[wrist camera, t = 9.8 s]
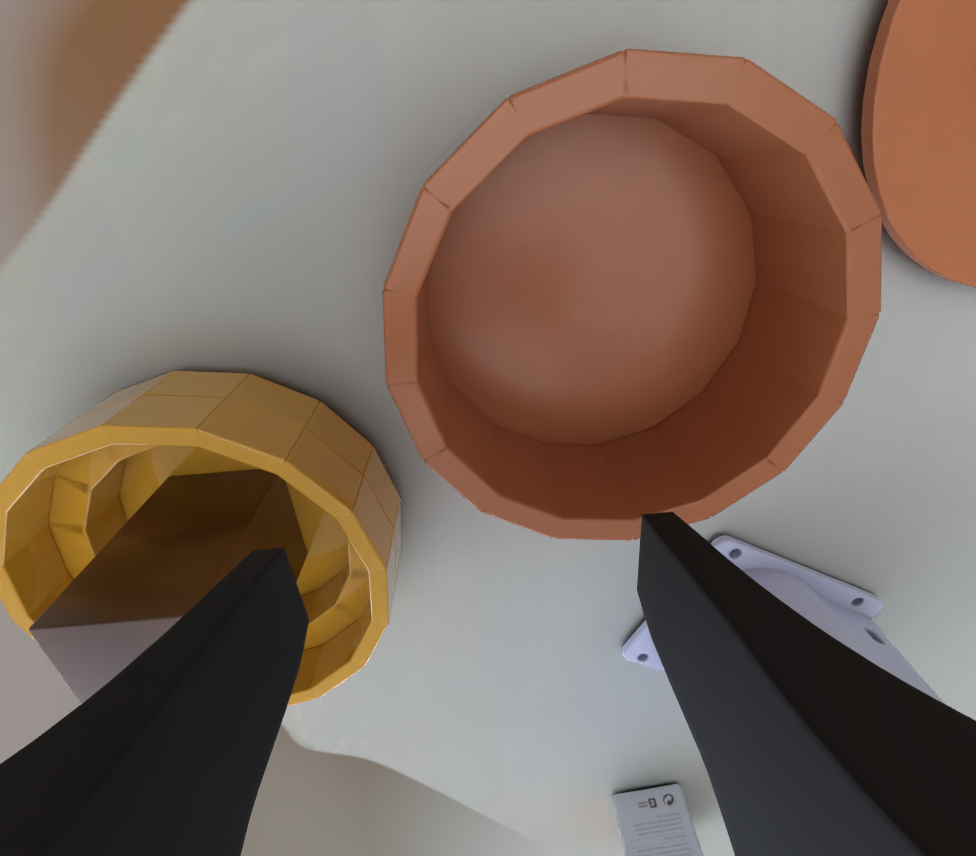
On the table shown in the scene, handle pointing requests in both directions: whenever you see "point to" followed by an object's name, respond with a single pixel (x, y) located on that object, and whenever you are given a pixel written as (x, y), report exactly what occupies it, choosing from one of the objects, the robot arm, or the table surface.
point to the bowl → (210, 449)
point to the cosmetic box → (655, 823)
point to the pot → (632, 294)
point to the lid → (925, 132)
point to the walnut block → (163, 570)
